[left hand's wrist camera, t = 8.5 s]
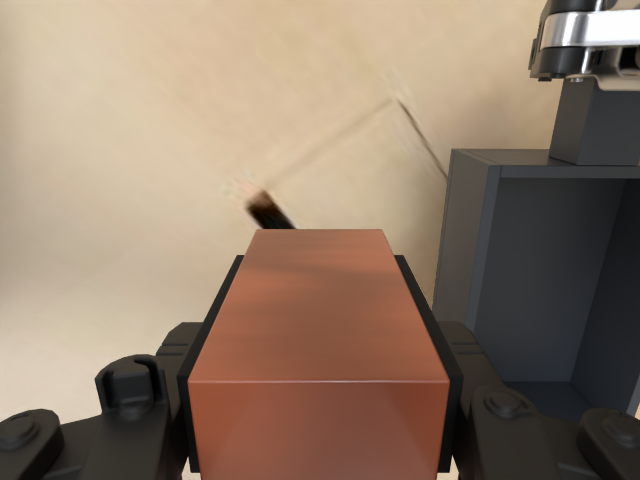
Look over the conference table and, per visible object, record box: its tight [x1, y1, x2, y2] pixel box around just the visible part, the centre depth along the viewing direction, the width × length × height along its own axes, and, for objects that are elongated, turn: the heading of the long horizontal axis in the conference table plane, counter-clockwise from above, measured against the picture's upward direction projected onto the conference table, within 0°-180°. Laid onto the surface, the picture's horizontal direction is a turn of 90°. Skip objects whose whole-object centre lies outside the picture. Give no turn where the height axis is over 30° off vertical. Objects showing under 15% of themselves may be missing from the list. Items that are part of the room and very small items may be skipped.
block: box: [187, 229, 450, 480], centre depth 11 cm, size 4×4×8 cm
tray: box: [432, 0, 640, 423], centre depth 23 cm, size 11×25×6 cm, turn 0°
